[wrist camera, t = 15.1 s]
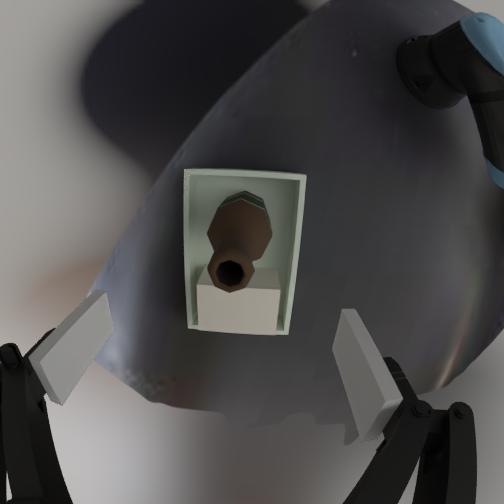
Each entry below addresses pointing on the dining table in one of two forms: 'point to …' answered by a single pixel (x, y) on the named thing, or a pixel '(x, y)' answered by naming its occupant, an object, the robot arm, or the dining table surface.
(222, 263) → the beer bottle
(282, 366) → the dining table surface
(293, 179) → the tote
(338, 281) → the dining table surface
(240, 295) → the off-white rectangular block
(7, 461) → the robot arm
